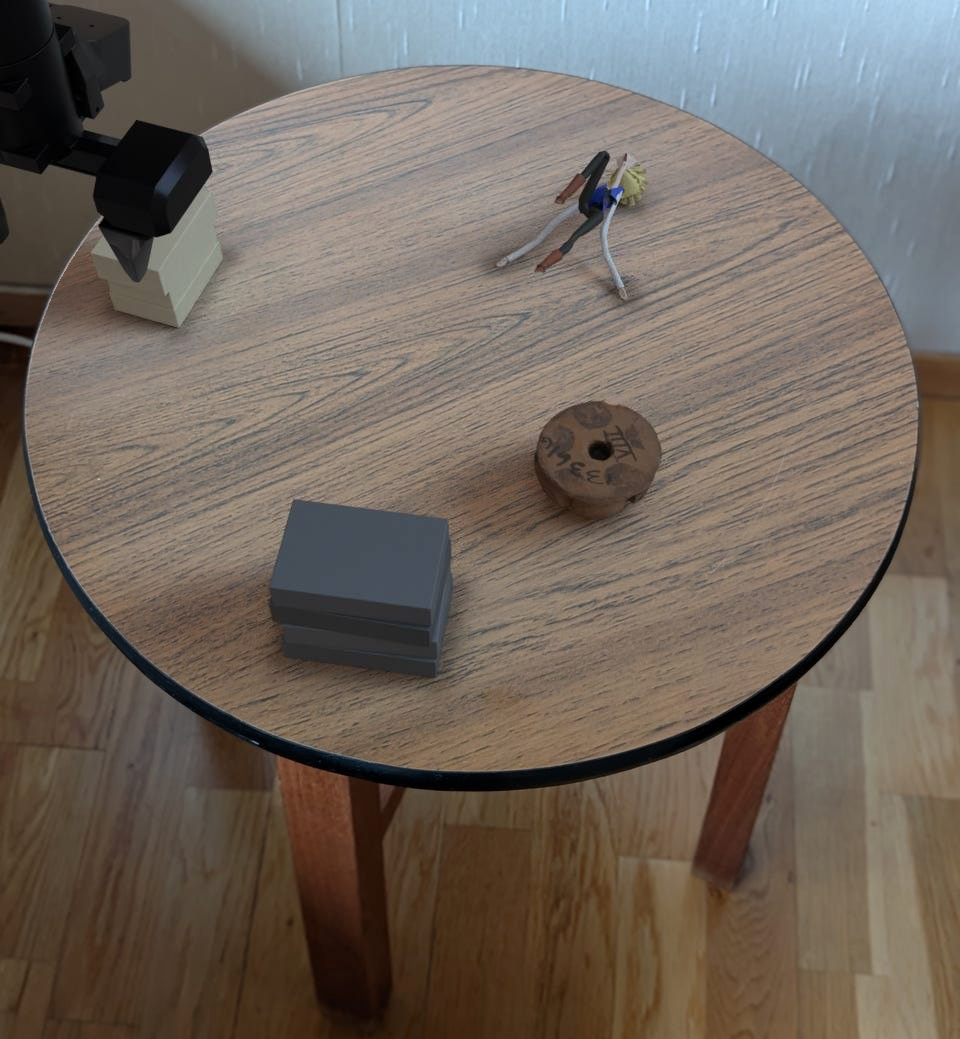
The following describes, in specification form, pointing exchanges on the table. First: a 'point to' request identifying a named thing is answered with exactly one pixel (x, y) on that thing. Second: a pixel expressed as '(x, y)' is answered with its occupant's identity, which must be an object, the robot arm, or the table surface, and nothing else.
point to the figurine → (592, 208)
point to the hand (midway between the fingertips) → (70, 257)
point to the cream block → (163, 249)
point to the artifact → (597, 458)
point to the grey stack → (363, 587)
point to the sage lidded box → (181, 293)
